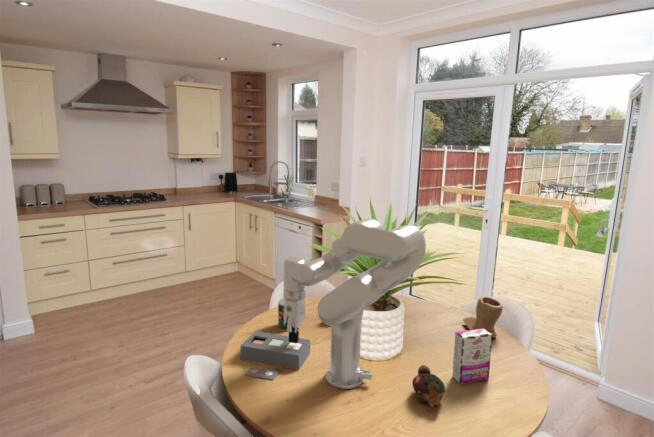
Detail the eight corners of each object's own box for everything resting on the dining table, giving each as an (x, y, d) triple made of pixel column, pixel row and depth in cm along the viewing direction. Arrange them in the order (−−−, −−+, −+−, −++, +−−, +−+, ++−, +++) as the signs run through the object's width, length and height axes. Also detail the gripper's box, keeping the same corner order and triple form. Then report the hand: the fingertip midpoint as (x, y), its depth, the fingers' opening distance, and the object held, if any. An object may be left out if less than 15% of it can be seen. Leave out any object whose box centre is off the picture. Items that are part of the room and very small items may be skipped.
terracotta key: (266, 347, 150) (266, 341, 150) (261, 353, 146) (261, 346, 146) (255, 345, 152) (255, 339, 151) (250, 351, 147) (250, 344, 147)
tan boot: (504, 340, 163) (508, 305, 161) (475, 340, 163) (478, 305, 160) (488, 324, 178) (492, 291, 175) (462, 323, 178) (464, 291, 175)
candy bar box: (479, 372, 140) (483, 327, 137) (489, 380, 135) (493, 334, 132) (450, 376, 137) (454, 331, 134) (459, 384, 132) (463, 337, 129)
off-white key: (302, 349, 146) (302, 343, 146) (297, 355, 142) (297, 349, 142) (290, 348, 148) (290, 341, 147) (286, 353, 143) (286, 347, 143)
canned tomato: (274, 326, 172) (274, 301, 170) (289, 321, 177) (289, 297, 175) (285, 332, 166) (285, 307, 164) (300, 327, 171) (301, 302, 169)
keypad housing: (310, 353, 150) (310, 339, 149) (298, 370, 139) (299, 355, 138) (255, 344, 156) (255, 331, 155) (240, 359, 145) (240, 345, 144)
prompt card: (278, 372, 137) (278, 370, 137) (272, 380, 132) (272, 378, 132) (251, 367, 140) (251, 365, 140) (244, 375, 135) (244, 373, 135)
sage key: (284, 346, 148) (284, 340, 148) (279, 352, 144) (279, 346, 144) (272, 345, 150) (272, 339, 149) (267, 350, 145) (267, 344, 145)
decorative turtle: (432, 383, 133) (435, 361, 131) (452, 416, 118) (456, 392, 116) (403, 383, 131) (406, 361, 129) (420, 417, 117) (424, 393, 115)
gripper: (297, 302, 133) (296, 353, 136) (311, 287, 147) (310, 334, 151) (275, 299, 135) (275, 350, 138) (292, 284, 149) (291, 331, 153)
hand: (293, 341), depth 144 cm, fingers closed
